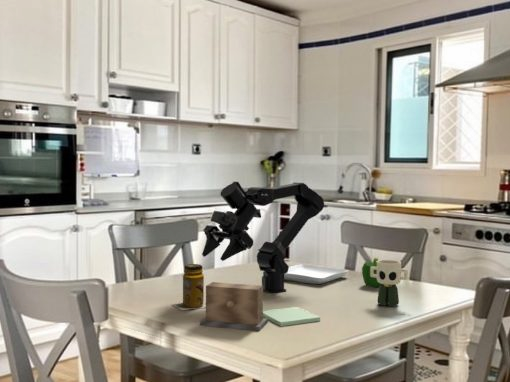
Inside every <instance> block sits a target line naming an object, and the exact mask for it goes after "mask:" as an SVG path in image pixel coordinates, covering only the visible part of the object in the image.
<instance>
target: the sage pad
mask: <svg viewBox="0 0 510 382" xmlns="http://www.w3.org/2000/svg"><path fill="white" fill-rule="evenodd" d="M263 318H266V319H268V321H270V322H273V323H274V324H277V325H278V326H280V327H286V326H291V325H292V326H293V325H299V324H300V325H301V324H306V323H307V324H308V323H313V322H320V321H321V317H320V316H319V315H316V314H314V313H312V312H309V311H307V310H306V309H303V308H301V307H298V306H293V307H284V308H277V309H276V308H275V309H268V310H263Z"/></svg>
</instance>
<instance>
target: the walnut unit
mask: <svg viewBox="0 0 510 382" xmlns="http://www.w3.org/2000/svg"><path fill="white" fill-rule="evenodd" d="M205 305H206V307H205V317H204V318H202V319H201V320H200V321H199V326H203V327H204V326H205V327H216V328H223V329H224V328H225V329H236V330H245V331H247V330H248V331H255V332H260V331H261V330H262V329H263V328H264V327H265V326H266V325H267V324H268V323H269V320H268V319H266V318H265V317H263V311H264V290H263V286H262V285H257V284H244V283H243V284H242V283H230V282H217V281H212V282H210V283H208V284H206V285H205Z"/></svg>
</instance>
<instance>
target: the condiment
mask: <svg viewBox="0 0 510 382" xmlns="http://www.w3.org/2000/svg"><path fill="white" fill-rule="evenodd" d="M183 272H184V274H183V275H182V302H180V303H171V305H172V306H173V307H175V308H177V309H179V310H180V311H188V310H192V309H193V310H195V309H202V308H203V309H204V308H206V304H204V301H205V300H204V297H205V293H204V290H205V287H204V286H205V285H204V284H205V283H204V281H205V278H204V274H203V265H202V264H199V263H191V264H190V263H189V264H186V265H185V266H184V270H183Z"/></svg>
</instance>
